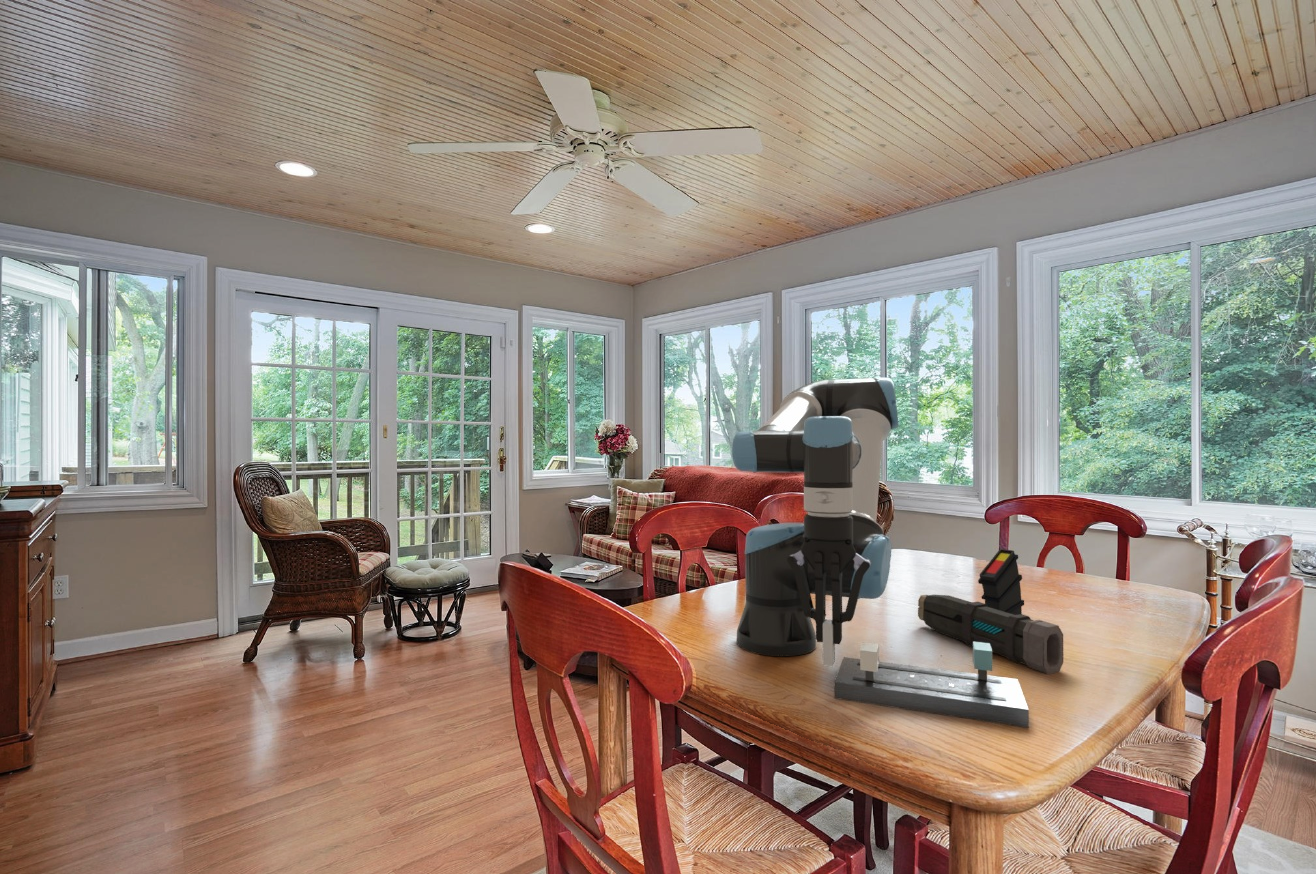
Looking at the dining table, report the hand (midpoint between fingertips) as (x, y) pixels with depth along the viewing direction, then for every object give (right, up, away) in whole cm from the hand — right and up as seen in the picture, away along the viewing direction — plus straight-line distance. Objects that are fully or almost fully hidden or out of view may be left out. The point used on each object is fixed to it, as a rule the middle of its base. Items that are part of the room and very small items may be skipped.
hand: (829, 663), depth 99 cm
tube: (+35, -5, +21) cm, 41 cm away
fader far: (+23, -2, -2) cm, 23 cm away
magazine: (+48, -5, +39) cm, 62 cm away
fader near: (+6, -2, -2) cm, 6 cm away
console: (+14, -4, -2) cm, 15 cm away
